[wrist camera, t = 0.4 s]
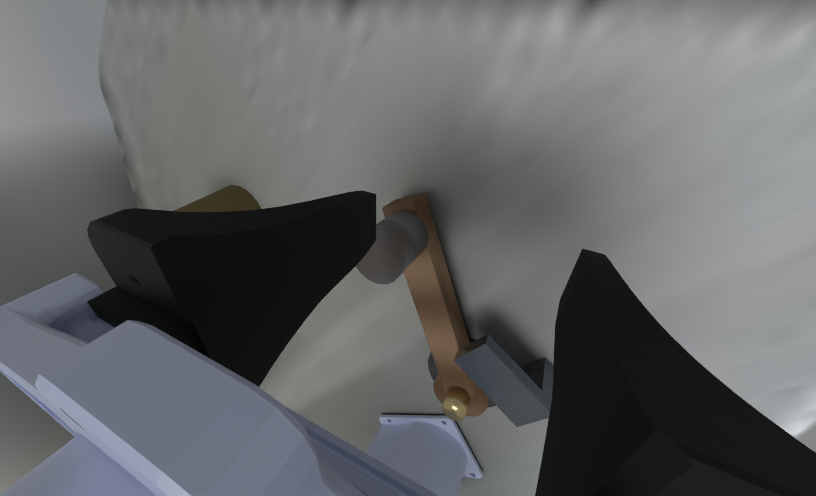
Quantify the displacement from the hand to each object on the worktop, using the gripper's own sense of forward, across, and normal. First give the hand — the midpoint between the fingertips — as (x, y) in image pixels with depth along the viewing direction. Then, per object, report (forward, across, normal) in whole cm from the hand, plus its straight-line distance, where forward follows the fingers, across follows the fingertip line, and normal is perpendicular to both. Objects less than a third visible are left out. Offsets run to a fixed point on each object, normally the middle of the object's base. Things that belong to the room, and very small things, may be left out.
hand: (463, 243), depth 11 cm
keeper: (+9, -3, +14) cm, 17 cm away
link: (+8, +2, +12) cm, 15 cm away
